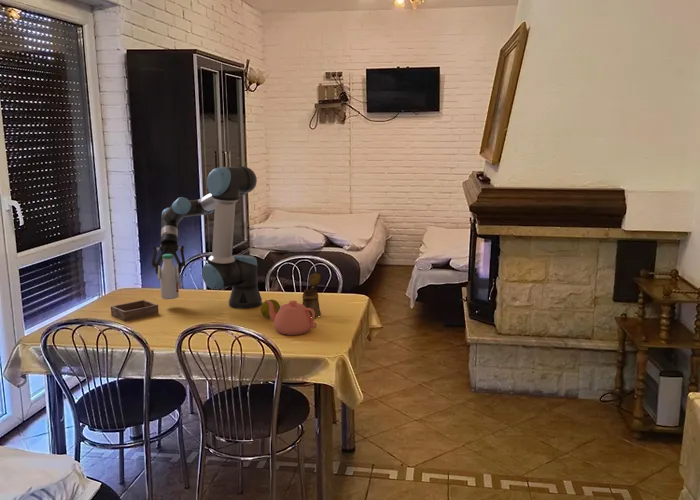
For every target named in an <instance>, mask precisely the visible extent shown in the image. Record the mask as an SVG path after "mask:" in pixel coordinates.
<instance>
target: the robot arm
mask: <svg viewBox="0 0 700 500" xmlns="http://www.w3.org/2000/svg"><path fill="white" fill-rule="evenodd" d="M257 181H258V179H257V175H256V173H255V172H254V170H253V169H252V168H249V167H248V166H244V165H243V166H241V165H240V166H221V167H220V166H219V167H216V168H215V167H214V168H213V169H212V170H211V171H210V172H209V173H208V175H207V179H206V188H207V189H208V190H207V191H208V192H209V193H207V194H206V195H204V196H203V197H200V198H199V199H191V200H189V199H188V198H187V197H184V196H181V197H178V198H177V199H176V200H174V201H173V203H172V204H171V205H170V207H166V208H164V209H163V210H162V211H161V215H160V219H161V224H160V225H161V227H160V228H161V229H160V246H159V247H157V246H153V255H152V260H151V268H155V274H156V275H157V280H158V282H160V271H161V268H162V267H161V265H162V264H163V257H162V256H163V255H164V254H173V259H174V260H175V263H176V269H177V274H176V277H177V280H178V281H179V279H180V277H179V275H180V274H181V273H182V267H186V259H185V253H184V252H185V246H184V245H181V246H179V245H178V244H179V243H178V241H179V240H178V237H179V236H178V235H179V234H178V230H179V229H178V228H179V223H180V222H181V221H182V220H183V219H184V218H188V217H197V216H207V215H210V214H213V213H214V215H213V217H214V218H213V234H212V237H213V238H212V246H211V247H212V252H211V254H210V256H208V258H207V263H205V264H204V266H202V268H201V277H202V280H203V282H204V284H205V285H206V287H208V288H209V289H211V290H222V289H224V288H229V287H231V288H232V289H231V293H230V296H229V299H228V306H229V307H230V308H232V309H240V310H241V309H244V310H245V309H255V308H257V307H261V306H262V305H261V304H263V301H262V296H261V293H260V290H259V288H258V287H259V286H258V284H259V283H258V281H259V280H258V260H257V258H256V257H255V256H254V255H253V256H252V255H248V254H247V255H243V254H233V244H234V229H235V216H236V215H235V214H236V203H237V202H238V201H239V200H240V196H245V195H247V194H249V193H250V192H252V191H253V190H254V189H255V187H257V186H256V185H257ZM160 251H161V253H160V255H159V256H158V254H159V252H160ZM177 251H179V252H180V257H181V260H180V258H179V256H178V254H177ZM157 257H158V259H157Z"/></svg>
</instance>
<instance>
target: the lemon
mask: <svg viewBox="0 0 700 500" xmlns="http://www.w3.org/2000/svg"><path fill="white" fill-rule="evenodd" d="M267 300H268V301H270V302H272V304H273V306H274V311H275V313H276V314H277V312H278V311H279V309H280V308H281V305H280V303H279V301H277V300H275V299H267ZM260 314H261V315H262V316H263V317H264V318H266V319H269V320H271V318H270V310H269V305H268V303H267V302H266V301H265V300H264V302H262V305H260Z"/></svg>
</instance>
